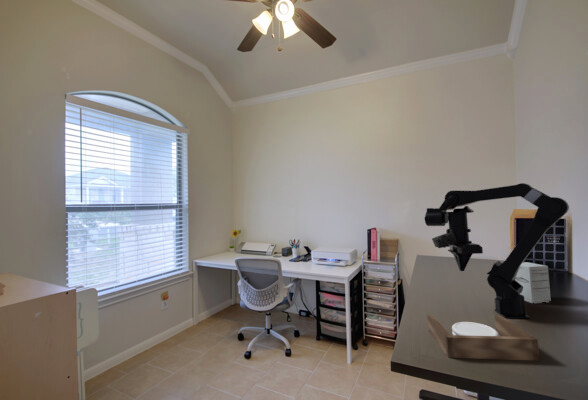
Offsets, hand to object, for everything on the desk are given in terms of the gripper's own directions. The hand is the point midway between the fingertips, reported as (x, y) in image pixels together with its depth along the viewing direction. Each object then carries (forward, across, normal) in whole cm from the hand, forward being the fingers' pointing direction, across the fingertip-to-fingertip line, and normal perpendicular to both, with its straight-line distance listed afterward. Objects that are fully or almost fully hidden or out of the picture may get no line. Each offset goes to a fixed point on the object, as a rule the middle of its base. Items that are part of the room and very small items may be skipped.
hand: (461, 270), depth 94 cm
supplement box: (+12, -7, +25) cm, 29 cm away
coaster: (+12, +27, -9) cm, 31 cm away
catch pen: (+12, +28, -9) cm, 31 cm away
